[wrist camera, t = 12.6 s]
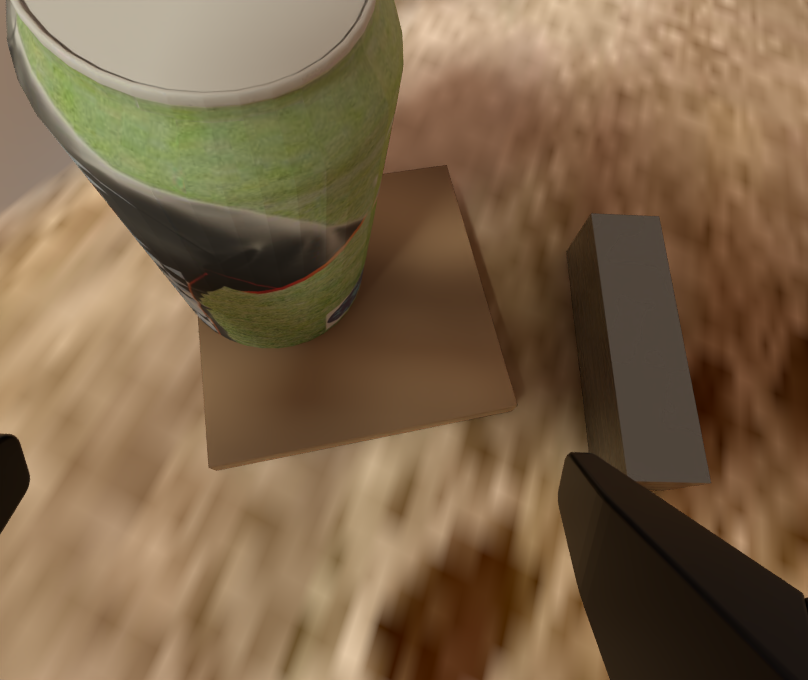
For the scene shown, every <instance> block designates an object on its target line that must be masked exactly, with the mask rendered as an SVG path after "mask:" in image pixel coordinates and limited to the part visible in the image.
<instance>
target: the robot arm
mask: <svg viewBox="0 0 808 680" xmlns="http://www.w3.org/2000/svg"><path fill="white" fill-rule="evenodd" d="M29 482H30V474H29V470H28V467H27V464H26V461H25V457H24V454H23V451H22V448H21V444H20V442H19V440H18V439H17V437H16V436H14V435H12V434H0V534H1V532H2V531H3V529H4V527H5V526H6V524H7V523H8V521H9V519H10V518H11V516H12V514H13V513H14V511H15V510H16V508H17V506H18V505H19V503H20V501H21V500H22V498H23V496H24V495H25V493H26V491H27V489H28V487H29ZM558 505H559V510H560V514H561V518H562V522H563V527H564V531H565V535H566V539H567V543H568V548H569V552H570V556H571V560H572V565H573V569H574V573H575V577H576V581H577V585H578V589H579V593H580V596H581V599H582V602H583V605H584V608H585V611H586V614H587V616H588V619H589V622H590V625H591V628H592V630H593V633H594V636H595V639H596V642H597V644H598V647H599V650H600V653H601V656H602V659H603V661H604V664H605V667H606V670H607V673H608V675H609V678H610V680H808V598H804V595H803V593H802V592H800V591H799V590H797V589H796V588H794V587H793V586H791V585H790V584H788V583H787V582H785V581H784V580H782V579H781V578H779V577H778V576H776V575H775V574H773V573H772V572H770V571H769V570H767V569H766V568H764V567H763V566H761V565H760V564H758V563H757V562H755V561H754V560H752V559H751V558H749V557H748V556H746V555H745V554H743V553H742V552H740V551H739V550H737V549H736V548H734V547H733V546H731V545H730V544H728V543H727V542H725V541H724V540H722V539H721V538H719V537H718V536H716V535H715V534H713V533H712V532H710V531H709V530H707V529H706V528H705V527H703V526H702V525H700V524H699V523H697V522H696V521H694V520H693V519H691V518H690V517H688V516H687V515H685V514H684V513H682V512H681V511H679V510H678V509H676V508H675V507H673V506H672V505H670V504H669V503H667V502H666V501H664V500H663V499H661V498H660V497H658V496H657V495H655V494H654V493H652V492H651V491H649V490H648V489H646V488H645V487H643V486H642V485H640V484H639V483H637V482H636V481H634V480H633V479H631V478H630V477H628V476H627V475H625V474H624V473H622V472H621V471H619V470H618V469H616V468H615V467H613V466H612V465H610V464H609V463H607V462H606V461H604V460H603V459H601V458H600V457H598V456H597V455H595V454H593V453H580V452H571V453H569V454H568V455H567V456H566V458H565V462H564V467H563V471H562V476H561V481H560V486H559V491H558Z"/></svg>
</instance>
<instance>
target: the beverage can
mask: <svg viewBox="0 0 808 680" xmlns="http://www.w3.org/2000/svg"><path fill="white" fill-rule="evenodd" d="M6 22H7V41H8V46H9V50H10V54H11V57H12V61H13V64H14V68H15V72H16V75H17V79H18V81H19V83H20V85H21V87H22V89H23V91H24V92H25V94H26V96H27V98H28V100H29V101H30V104H31V105H32V107H33V109H34V111H35V113H36V114H37V116H38V117H39V118H40V119H41V120H42V122H43V123H44V125H45V126H46V127H47V128H48V130H49V131H50V132H51V133H52V134H53V136H54V137H55V138H56V140H57V141H58V142H59V143H60V145H61V146H62V147H63V148H64V150H65V151H66V152H67V153H68V155H69V156H70V157H71V158H72V159H73V161H74V162H75V163H76V165H77V166H78V167H79V168H80V170H81V171H82V172H83V173H84V175H85V176H86V177H87V178H88V180H89V181H90V182H91V183H92V185H93V186H94V187H95V188H96V190H97V191H98V192H99V193H100V195H101V196H102V197H103V198H104V200H105V201H106V202H107V203H108V205H109V206H110V207H111V208H112V210H113V211H114V212H115V213H116V215H117V216H118V217H119V218H120V220H121V221H122V222H123V223H124V225H125V226H126V227H127V228H128V230H129V231H130V232H131V233H132V235H133V236H134V237H135V238H136V240H137V241H138V242H139V243H140V245H141V246H142V247H143V248H144V250H145V251H146V252H147V253H148V255H149V256H150V257H151V258H152V260H153V261H154V262H155V263H156V265H157V266H158V267H159V268H160V270H161V271H162V272H163V273H164V275H165V276H166V277H167V278H168V280H169V281H170V282H171V283H172V285H173V286H174V287H175V288H176V290H177V291H178V292H179V293H180V295H181V296H182V297H183V298H184V300H185V301H186V302H187V303H188V305H189V306H190V307H191V308H192V309H193V311H194V312H195V313H196V314H197V315H198V317H199V318H200V319H201V320H202V321H203V322H204V323H205V324H206V325H207V326H209V327H210V328H211V329H212V330H214V331H215V332H216V333H218V334H220V335H222V336H224V337H225V338H227V339H229V340H232V341H234V342H237V343H240V344H243V345H246V346H252V347H258V348H284V347H290V346H296V345H299V344H302V343H305V342H308V341H311V340H313V339H314V338H316V337H318V336H320V335H322V334H324V333H325V332H327V331H328V330H329V329H330V328H332V327H333V326H334V325H336V324H337V323H338V322H339V321H340V320H341V318H342V317H343V316H344V315H345V314H346V313H347V312H348V310H349V308H350V307H351V305H352V304H353V302H354V300H355V298H356V296H357V293H358V290H359V288H360V285H361V280H362V275H363V270H364V265H365V260H366V255H367V250H368V245H369V240H370V235H371V230H372V225H373V220H374V214H375V209H376V204H377V199H378V194H379V189H380V184H381V179H382V174H383V169H384V164H385V159H386V154H387V149H388V144H389V139H390V134H391V129H392V124H393V119H394V114H395V109H396V104H397V99H398V93H399V88H400V82H401V77H402V71H403V40H402V30H401V26H400V22H399V18H398V14H397V10H396V6H395V2H394V0H6Z"/></svg>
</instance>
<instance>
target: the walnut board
mask: <svg viewBox="0 0 808 680" xmlns="http://www.w3.org/2000/svg"><path fill="white" fill-rule="evenodd" d="M198 325H199V339H200V353H201V367H202V382H203V396H204V410H205V424H206V438H207V452H208V466H209V468H211V469H214V470H216V471H217V470H222V469H227V468H232V467H237V466H242V465H247V464H252V463H257V462H262V461H267V460H272V459H277V458H282V457H286V456H291V455H296V454H301V453H306V452H311V451H316V450H321V449H326V448H331V447H336V446H341V445H346V444H351V443H356V442H361V441H366V440H371V439H376V438H381V437H386V436H390V435H395V434H400V433H405V432H410V431H415V430H420V429H425V428H430V427H435V426H440V425H445V424H450V423H455V422H460V421H465V420H470V419H475V418H480V417H485V416H489V415H494V414H499V413H504V412H509V411H512V410H513V409H514V408H515V407H516V406H517V402H516V399H515V395H514V392H513V389H512V385H511V382H510V378H509V375H508V372H507V368H506V365H505V361H504V358H503V355H502V351H501V348H500V344H499V341H498V338H497V334H496V331H495V328H494V324H493V321H492V317H491V314H490V311H489V307H488V304H487V300H486V297H485V294H484V290H483V287H482V283H481V280H480V277H479V273H478V270H477V267H476V263H475V260H474V256H473V253H472V250H471V246H470V243H469V239H468V236H467V233H466V229H465V226H464V222H463V219H462V216H461V212H460V209H459V206H458V202H457V199H456V195H455V192H454V189H453V185H452V182H451V178H450V175H449V172H448V168H447V165H443V166H436V167H429V168H422V169H415V170H408V171H401V172H394V173H387V174H382V179H381V184H380V189H379V194H378V199H377V204H376V209H375V214H374V220H373V225H372V230H371V235H370V240H369V245H368V250H367V255H366V260H365V265H364V270H363V275H362V280H361V285H360V288H359V290H358V293H357V296H356V298H355V300H354V302H353V304H352V305H351V307H350V308H349V310H348V312H347V313H346V314H345V315H344V316H343V317H342V318H341V320H340V321H339V322H338V323H337V324H336V325H334V326H333V327H332V328H330V329H329V330H328V331H327V332H325V333H324V334H322V335H320V336H318V337H316V338H314V339H313V340H311V341H308V342H305V343H302V344H299V345H296V346H290V347H284V348H258V347H252V346H246V345H243V344H240V343H237V342H234V341H232V340H229V339H227V338H225V337H224V336H222V335H220V334H218V333H216V332H215V331H214V330H212V329H211V328H210V327H209V326H207V325H206V324H205V323H204V322H203V321H202V320H201V319H200V318H199V317H198Z"/></svg>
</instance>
